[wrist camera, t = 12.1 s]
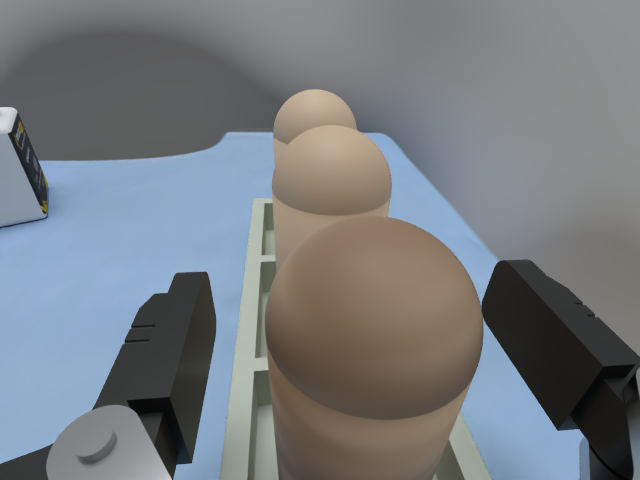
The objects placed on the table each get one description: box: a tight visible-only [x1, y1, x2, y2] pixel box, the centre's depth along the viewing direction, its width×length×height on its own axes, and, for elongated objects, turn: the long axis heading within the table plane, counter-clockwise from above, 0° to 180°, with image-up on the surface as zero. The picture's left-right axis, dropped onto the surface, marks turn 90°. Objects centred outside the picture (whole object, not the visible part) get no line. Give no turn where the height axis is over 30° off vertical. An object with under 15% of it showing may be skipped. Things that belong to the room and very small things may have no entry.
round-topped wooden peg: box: [265, 216, 483, 480], centre depth 9 cm, size 5×5×10 cm
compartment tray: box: [220, 89, 492, 480], centre depth 16 cm, size 22×8×11 cm, turn 6°
